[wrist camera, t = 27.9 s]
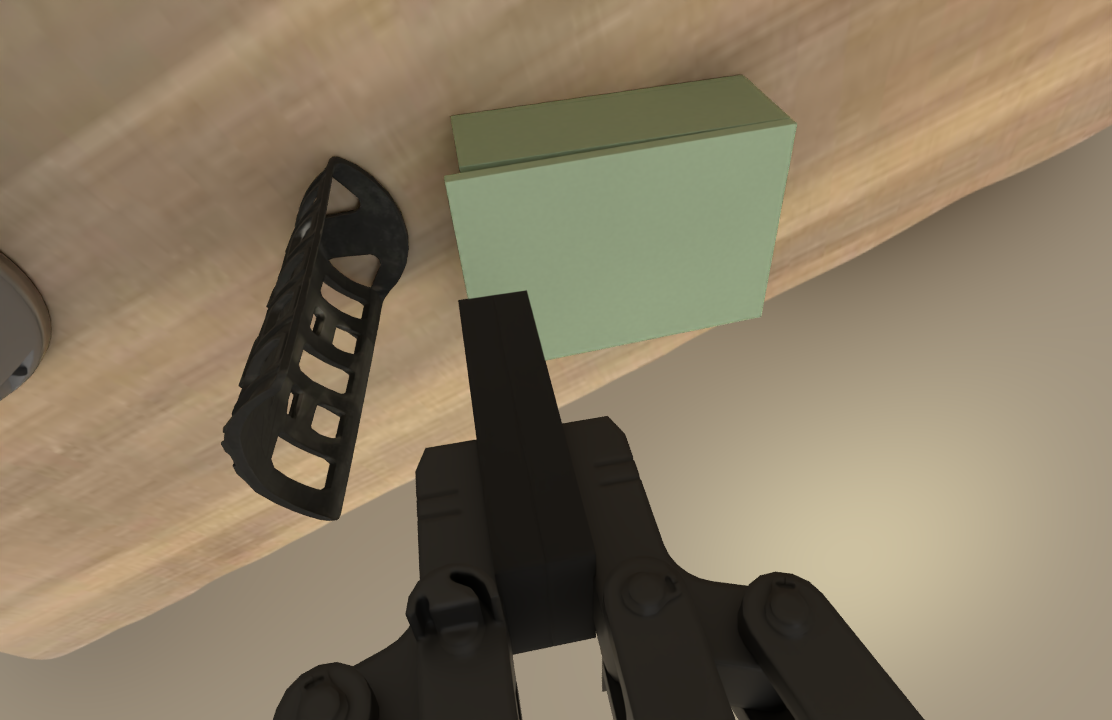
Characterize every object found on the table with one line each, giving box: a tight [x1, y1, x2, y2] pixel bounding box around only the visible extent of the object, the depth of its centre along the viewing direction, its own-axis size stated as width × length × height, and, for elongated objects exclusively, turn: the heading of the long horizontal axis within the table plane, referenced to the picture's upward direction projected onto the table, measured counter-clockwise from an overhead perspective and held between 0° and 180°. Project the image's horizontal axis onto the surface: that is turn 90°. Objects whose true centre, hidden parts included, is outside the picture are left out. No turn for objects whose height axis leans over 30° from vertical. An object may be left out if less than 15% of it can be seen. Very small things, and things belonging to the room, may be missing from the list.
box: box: [450, 75, 790, 173], centre depth 45 cm, size 19×14×7 cm
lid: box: [444, 118, 797, 361], centre depth 42 cm, size 20×14×1 cm
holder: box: [221, 157, 409, 521], centre depth 39 cm, size 11×8×20 cm
